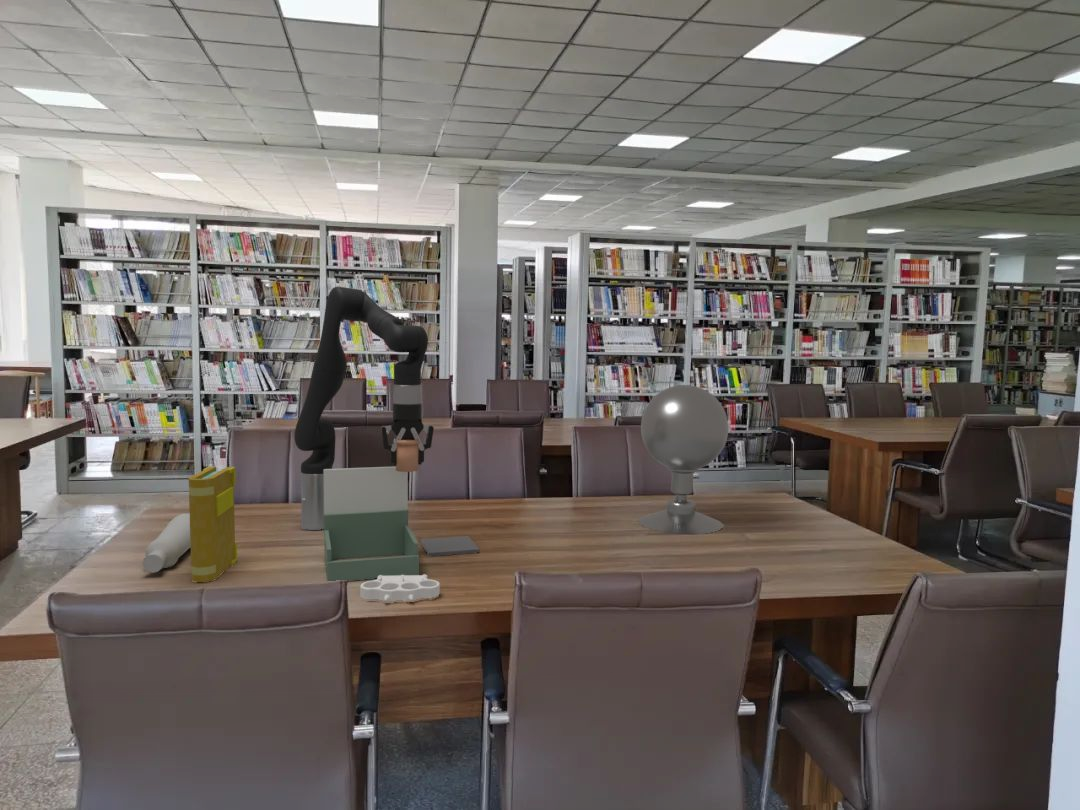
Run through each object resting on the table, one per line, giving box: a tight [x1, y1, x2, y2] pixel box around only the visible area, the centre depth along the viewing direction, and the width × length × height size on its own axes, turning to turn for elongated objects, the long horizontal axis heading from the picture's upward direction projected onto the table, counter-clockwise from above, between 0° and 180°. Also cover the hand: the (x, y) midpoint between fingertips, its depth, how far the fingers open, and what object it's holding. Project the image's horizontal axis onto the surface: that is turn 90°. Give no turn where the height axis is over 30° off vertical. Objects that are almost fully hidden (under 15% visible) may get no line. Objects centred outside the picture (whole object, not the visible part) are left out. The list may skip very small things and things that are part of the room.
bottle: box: [142, 513, 191, 574], centre depth 196 cm, size 9×9×30 cm
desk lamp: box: [637, 384, 729, 535], centre depth 242 cm, size 28×28×45 cm
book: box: [188, 466, 238, 583], centre depth 186 cm, size 17×7×25 cm, turn 5°
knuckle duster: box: [359, 573, 441, 601], centre depth 174 cm, size 3×18×15 cm
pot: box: [395, 438, 420, 473], centre depth 198 cm, size 7×7×8 cm
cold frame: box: [323, 466, 420, 582], centre depth 192 cm, size 22×21×24 cm
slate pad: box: [420, 535, 480, 557], centre depth 211 cm, size 14×14×1 cm
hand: (407, 464), depth 199 cm, fingers closed on pot, 6 cm apart
